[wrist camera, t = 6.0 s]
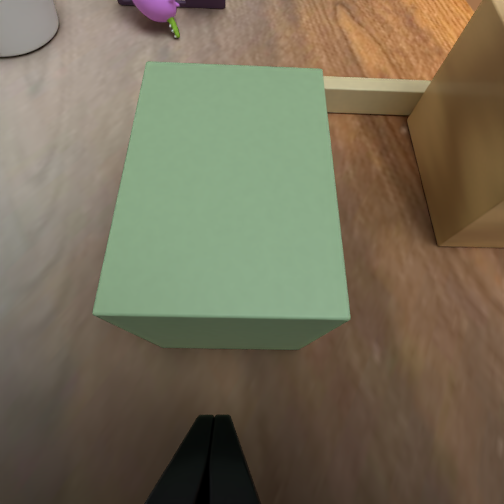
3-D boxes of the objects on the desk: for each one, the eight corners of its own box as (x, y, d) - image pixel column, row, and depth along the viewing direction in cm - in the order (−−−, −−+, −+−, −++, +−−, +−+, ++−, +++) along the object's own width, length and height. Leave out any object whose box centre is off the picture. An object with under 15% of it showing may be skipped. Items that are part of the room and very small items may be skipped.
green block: (299, 350, 16) (352, 320, 8) (161, 347, 16) (90, 315, 8) (291, 185, 20) (323, 67, 12) (181, 182, 19) (145, 60, 12)
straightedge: (486, 118, 23) (507, 95, 21) (154, 106, 22) (147, 80, 20) (481, 106, 23) (502, 82, 21) (157, 94, 22) (149, 68, 21)
